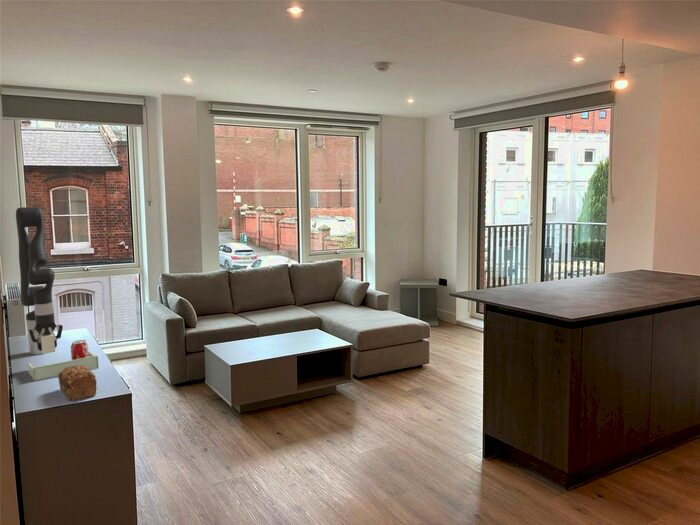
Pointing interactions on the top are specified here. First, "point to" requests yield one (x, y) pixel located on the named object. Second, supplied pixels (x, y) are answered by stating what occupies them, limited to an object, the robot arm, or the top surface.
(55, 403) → the top surface
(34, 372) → the u-shaped bracket
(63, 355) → the top surface
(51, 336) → the cream rectangular block
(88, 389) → the bread
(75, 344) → the soda can
